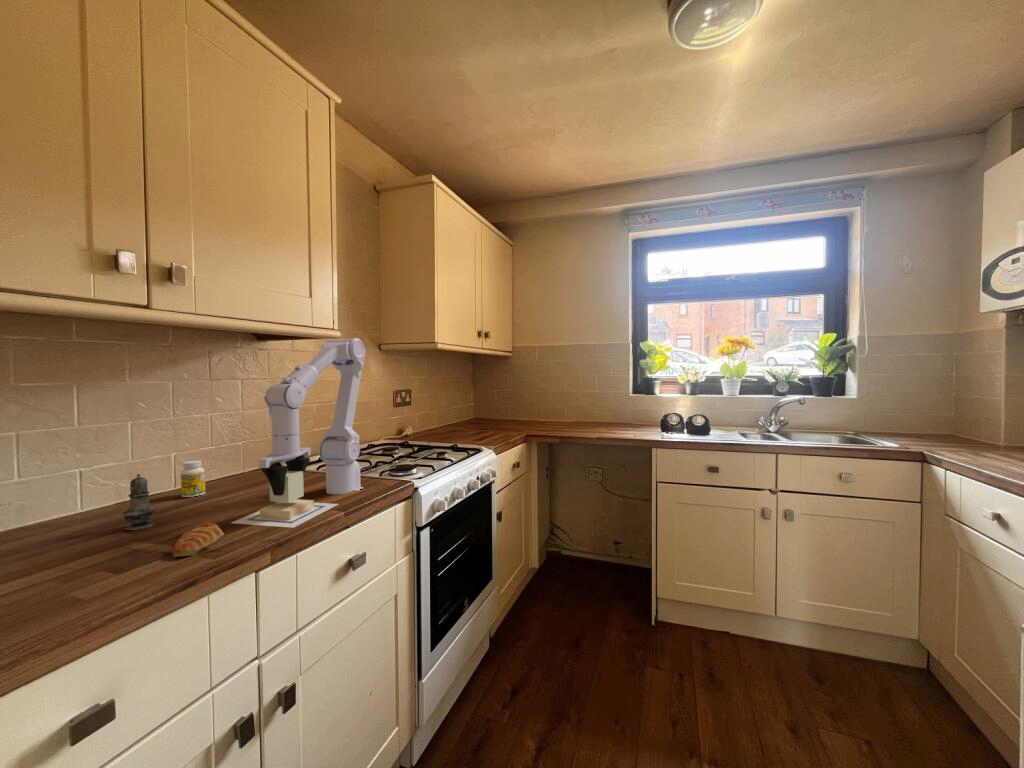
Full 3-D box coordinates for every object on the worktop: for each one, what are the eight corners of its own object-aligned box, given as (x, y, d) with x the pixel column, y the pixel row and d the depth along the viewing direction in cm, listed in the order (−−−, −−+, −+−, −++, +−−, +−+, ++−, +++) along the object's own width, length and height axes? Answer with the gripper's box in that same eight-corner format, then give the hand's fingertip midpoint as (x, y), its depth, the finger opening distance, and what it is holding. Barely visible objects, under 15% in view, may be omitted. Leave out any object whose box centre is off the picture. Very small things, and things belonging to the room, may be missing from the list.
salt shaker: (164, 523, 95) (162, 471, 95) (134, 532, 89) (132, 477, 89) (145, 520, 97) (143, 470, 96) (115, 530, 91) (113, 476, 91)
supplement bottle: (209, 492, 120) (207, 459, 120) (199, 497, 115) (198, 463, 114) (187, 493, 119) (186, 460, 118) (177, 499, 114) (176, 464, 113)
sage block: (285, 494, 101) (285, 470, 101) (303, 495, 100) (303, 471, 100) (269, 501, 96) (269, 475, 96) (288, 502, 95) (287, 476, 95)
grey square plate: (283, 504, 107) (283, 500, 107) (338, 507, 104) (338, 503, 104) (230, 527, 92) (230, 522, 92) (293, 532, 88) (293, 527, 88)
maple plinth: (285, 506, 103) (285, 498, 103) (314, 508, 101) (313, 500, 101) (260, 517, 95) (259, 509, 95) (290, 519, 93) (290, 511, 93)
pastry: (201, 558, 77) (200, 538, 77) (160, 562, 76) (159, 541, 76) (226, 538, 86) (226, 520, 86) (190, 541, 85) (189, 523, 85)
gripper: (293, 429, 105) (294, 482, 106) (245, 439, 91) (247, 500, 91) (317, 430, 104) (318, 483, 104) (273, 439, 90) (275, 501, 90)
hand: (287, 491), depth 98 cm, fingers closed on sage block, 5 cm apart
